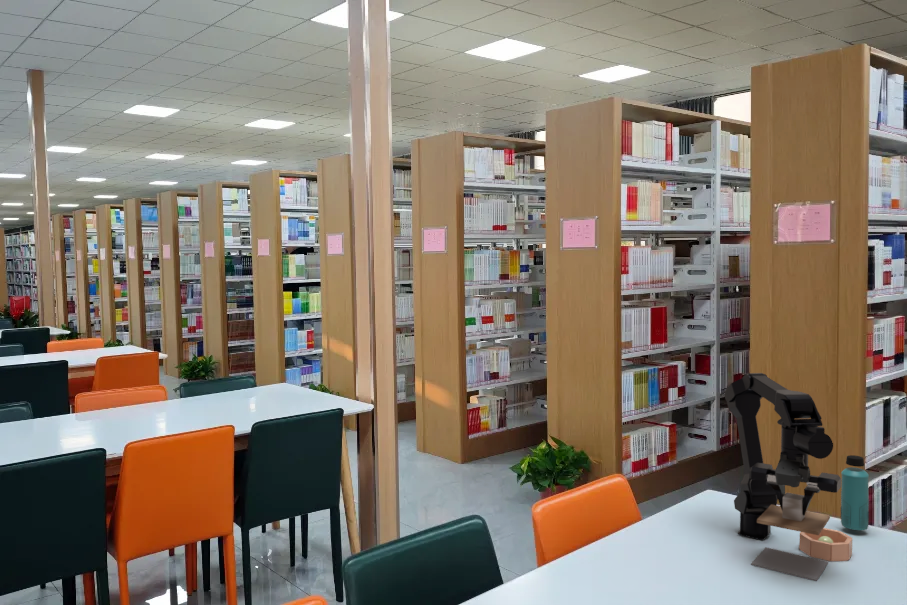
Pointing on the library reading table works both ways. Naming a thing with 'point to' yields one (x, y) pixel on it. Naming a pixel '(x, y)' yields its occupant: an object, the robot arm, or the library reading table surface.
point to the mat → (790, 563)
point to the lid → (794, 516)
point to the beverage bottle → (854, 495)
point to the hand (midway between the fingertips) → (793, 513)
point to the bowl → (827, 545)
